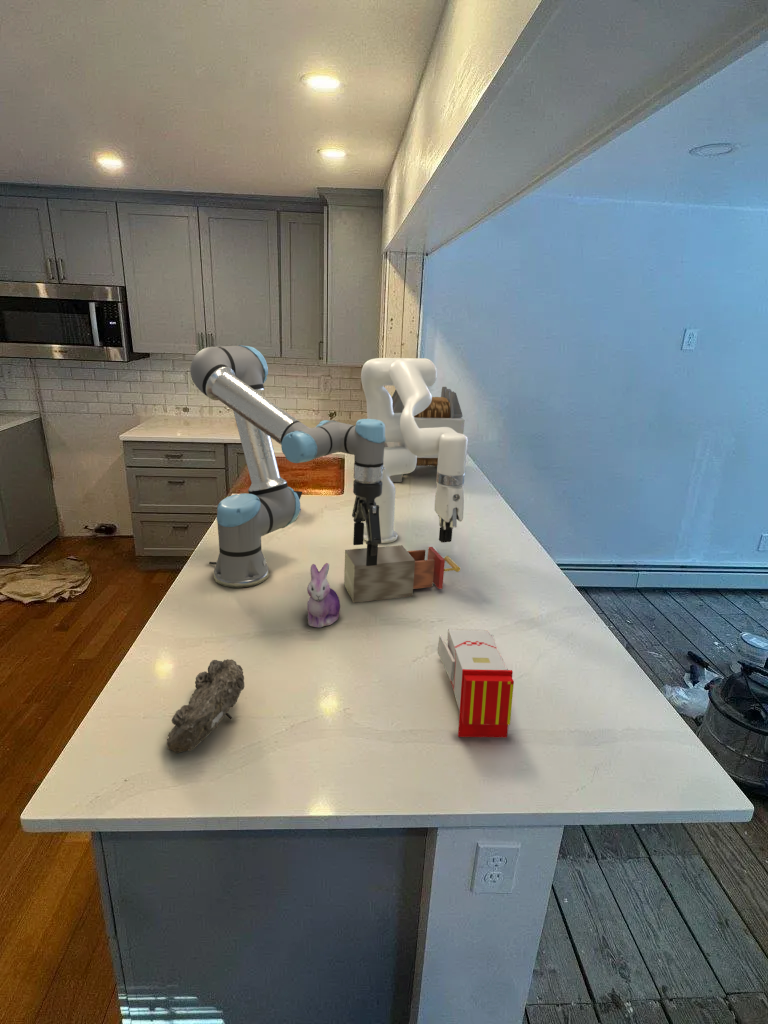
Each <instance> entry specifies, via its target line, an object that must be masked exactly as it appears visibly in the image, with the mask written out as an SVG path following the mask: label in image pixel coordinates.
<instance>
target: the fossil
mask: <svg viewBox="0 0 768 1024" xmlns="http://www.w3.org/2000/svg"><path fill="white" fill-rule="evenodd" d="M243 670H244V669H243V667H242V665H240V664H237V662H236V661H235V660H234V659H232V658H231V659H227V658H226V659H224V660H223V661H222V660H217V659H212V660H211V661H210V663H209V665H208V666H207V671H201V672H199V673H198V674H197V675H196V676H195V680H194V684H195V685H194V687H195V689H194V690H193V693H192V694H191V697H190V698H189V700H188V704H184V705H182V706H181V707H180V709H177V710H176V711H175V713H174V715H173V716H172V718H171V723H172V724H173V727H172V730H171V731H170V732H168V734H167V738H166V741H167V742H166V745H167V749H168V750H169V751H173V752H174V753H176V754H178V753H182V752H188V751H189V752H192V751H193V750H195V748H196V747H197V746H199V744H200V743H201V742H203V741H204V740H205V739H206V738H207V737H208V736H209V735H210V734H211V733H212V732H214V730H215V729H217V727H218V726H219V724H220V722H221V721H222V720H223V719H224V718H225V716H226V717H227V719H229V720H233V717H232V715H230V714H229V710H230V709H231V708H234V706H235V704H236V703H237V702H238V699H239V697H240V695H241V693H242V691H243V690H245V689H244V688H245V675H244V671H243Z"/></svg>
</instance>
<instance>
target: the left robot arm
mask: <svg viewBox="0 0 768 1024" xmlns="http://www.w3.org/2000/svg"><path fill="white" fill-rule="evenodd" d="M189 368H190V376H191V380H192V382H193V384H194V386H195V387H196V388H197V389H198V390H199V391H200V392H201V394H203V395H205V396H206V397H207V398H209V399H210V400H212V401H219V402H221V403H222V404H224V405H225V406H226V407H228V408H229V409H230V410H232V411H233V415H234V420H235V423H236V427H237V431H238V436H239V439H240V442H241V446H242V451H243V456H244V459H245V462H246V463H245V464H246V466H247V471H248V475H249V479H250V482H251V483H250V486H249V487H248V489H247V493H246V492H244V493H239V494H237V493H235V494H232V495H229V496H227V497H225V498H223V499H221V500H220V502H219V503H218V505H217V508H216V510H217V511H216V512H217V514H216V522H217V534H218V549H219V550H218V551H219V553H218V556H217V560H216V561H209V562H208V564H209V565H215V566H214V570H213V577H214V578H213V579H214V580H215V582H216V583H217V584H218V585H220V586H223V587H227V588H237V589H239V588H248V587H253V586H256V585H259V584H261V583H263V582H265V581H266V580H267V579H268V578H269V573H270V572H269V571H270V570H269V566H268V563H267V558H266V557H265V556H264V552H263V550H262V537H263V536H266V535H268V534H271V533H274V532H276V531H277V530H280V529H284V528H287V527H288V526H289V525H291V524H293V523H295V521H296V520H297V519H298V517H299V515H300V512H301V510H300V509H301V501H300V500H301V499H300V500H299V497H298V495H297V493H296V492H294V491H295V489H293V488H292V487H290V486H289V485H288V481H287V480H286V479H284V478H283V477H282V476H281V474H280V471H279V467H278V466H279V465H278V462H277V458H276V454H275V450H274V445H273V442H272V440H274V441H275V442H276V443H278V444H279V445H280V446H281V447H280V448H281V452H282V454H283V455H284V457H285V459H286V460H287V461H288V462H290V463H292V464H300V463H308V462H310V461H313V460H316V459H318V458H323V457H326V456H329V455H333V454H336V453H342V454H343V453H344V454H347V455H354V458H353V459H354V462H353V479H354V480H353V487H352V488H353V489H352V492H353V495H355V499H354V503H353V509H352V513H351V517H352V518H353V522H354V523H353V539H352V541H353V542H352V544H353V546H362V545H364V539H363V538H364V522H366V527H367V534H368V541H366V542H365V544H366V548H367V556H366V566H374V565H377V553H378V547H379V545H381V544H382V543H381V533H380V521H379V505H376V502H375V498H376V497H379V496H380V495H381V494H382V481H381V480H382V479H383V471H384V470H385V467H383V462H384V461H383V459H384V445H385V439H386V438H385V424H384V423H383V422H382V421H380V420H375V419H367V418H361V419H357V421H356V422H355V424H350V423H346V422H345V423H344V422H340V421H336V420H326V419H324V420H321V421H319V423H318V424H317V425H316V426H315V427H309V426H307V425H306V424H305V423H303V422H301V421H300V420H299V419H297V418H295V416H293V415H291V414H290V413H288V412H287V411H285V410H284V409H283V408H281V407H279V406H278V405H277V404H276V403H274V402H273V401H271V400H270V399H268V398H267V397H265V396H264V395H263V394H264V392H265V386H264V384H265V383H266V381H267V380H268V377H267V376H268V375H269V367H268V363H267V361H266V358H265V357H264V355H263V354H262V352H260V351H259V350H258V349H256V348H255V347H253V346H249V345H242V344H239V345H226V346H225V345H224V346H207V347H204V348H202V349H200V350H199V351H198V352H197V353H196V354H195V355H194V356H193V357H192V360H191V363H190V367H189Z"/></svg>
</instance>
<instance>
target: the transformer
mask: <svg viewBox="0 0 768 1024" xmlns="http://www.w3.org/2000/svg"><path fill="white" fill-rule="evenodd" d="M440 393H441V394H440V396H432V401H431V403H430V405H429V406H428V407H427V408H426V409H425V410H424V411H422V412H421V413H419V414H417V415H415V416H414V420H415V422H416V424H417V426H418V428H419V429H420V428H434V427H449V428H452V429H453V430H454V431H455V432H457V433H460V434H463V435H464V431H465V430H464V429H465V419H464V418H463V411H462V408H461V405H460V402H459V398H458V395H457V392H455V391H453V390H452V389H451V388H447V386H442V387H441V392H440ZM391 397H392V401H393V412H394V413H402V411H403V409H404V405H403V403H402V401H401V399H400V397H399V395H398V393H397V391H396V389H395V390H394V392H393V394H392V395H391ZM390 446H391V447H392V446H398V442H389V443H385V445H384V447H390ZM437 465H438V455H426V456H417V464H416V467H417V466H418V467H437ZM403 475H404V474H398V475H391V476H390V480H391V481H392V482H393V483H402V482H403Z"/></svg>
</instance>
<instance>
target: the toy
mask: <svg viewBox="0 0 768 1024" xmlns="http://www.w3.org/2000/svg"><path fill="white" fill-rule="evenodd" d="M446 640H447V643H446V641H445V639H444V636H443V635H442V634H439V637H438V646H437V656H438V657H439V659H440V661H441V663H442V666H443V668H444V670H445V672H446V674H447V677H448V679H449V681H450V684H451V687H452V690H453V693H454V697H455V701H456V705H457V708H458V711H459V714H458V715H459V716H458V730H457V731H458V732H457V737H458V738H508V731H509V726H510V725H511V717H512V707H513V697H514V696H513V695H514V684H515V680H514V679H513V673H514V671H513V670H512V669H508V667H507V665H506V662H505V661H504V659H503V658H502V655H501V653H500V651H499V649H498V647H497V643H496V639H495V637H494V635H493V634H491V632H490V631H489V629H467V628H466V629H465V628H463V629H461V628H460V629H459V628H448V630H447V639H446Z"/></svg>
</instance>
